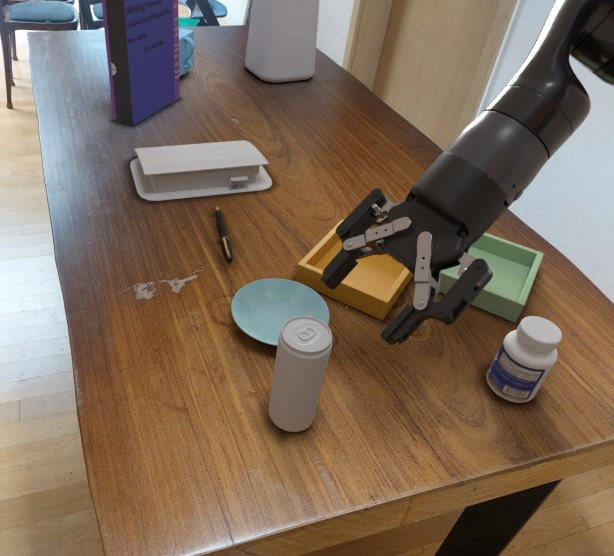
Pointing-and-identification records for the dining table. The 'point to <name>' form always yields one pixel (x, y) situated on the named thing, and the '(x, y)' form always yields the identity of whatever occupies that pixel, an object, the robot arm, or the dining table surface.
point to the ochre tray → (356, 277)
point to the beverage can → (299, 372)
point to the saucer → (274, 307)
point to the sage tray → (500, 275)
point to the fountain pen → (224, 236)
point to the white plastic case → (199, 170)
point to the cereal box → (141, 56)
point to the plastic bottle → (282, 39)
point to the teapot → (186, 50)
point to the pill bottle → (524, 359)
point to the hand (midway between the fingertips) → (354, 311)
